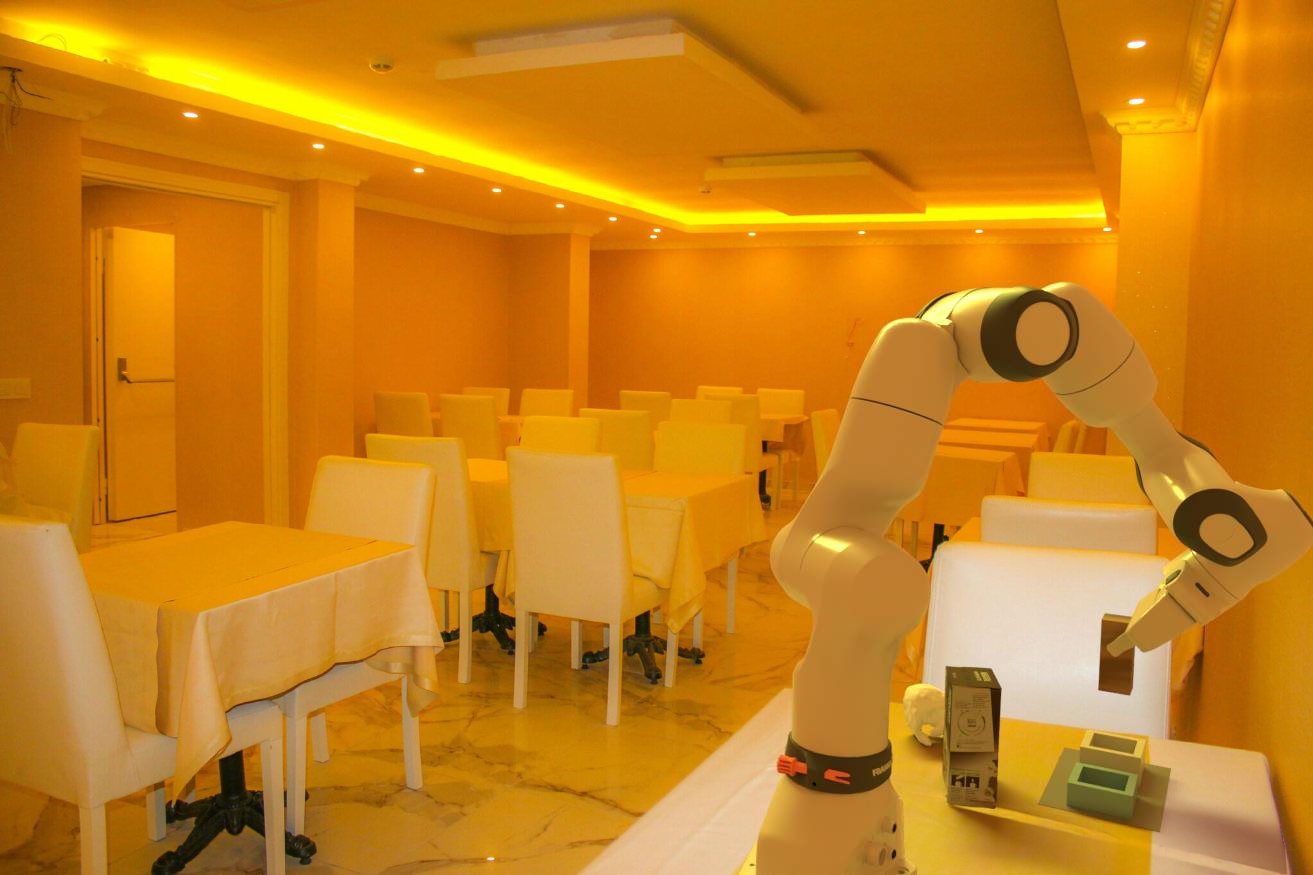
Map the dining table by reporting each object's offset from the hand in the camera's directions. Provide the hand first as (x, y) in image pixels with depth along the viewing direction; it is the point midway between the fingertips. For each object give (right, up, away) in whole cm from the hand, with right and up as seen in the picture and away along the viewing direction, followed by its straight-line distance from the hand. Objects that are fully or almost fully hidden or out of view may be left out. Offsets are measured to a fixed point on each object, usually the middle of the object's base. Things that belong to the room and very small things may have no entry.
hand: (1112, 646), depth 136 cm
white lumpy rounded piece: (-19, -18, +15) cm, 30 cm away
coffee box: (-21, -19, -4) cm, 29 cm away
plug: (0, -6, 0) cm, 6 cm away
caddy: (-2, -19, -4) cm, 19 cm away
